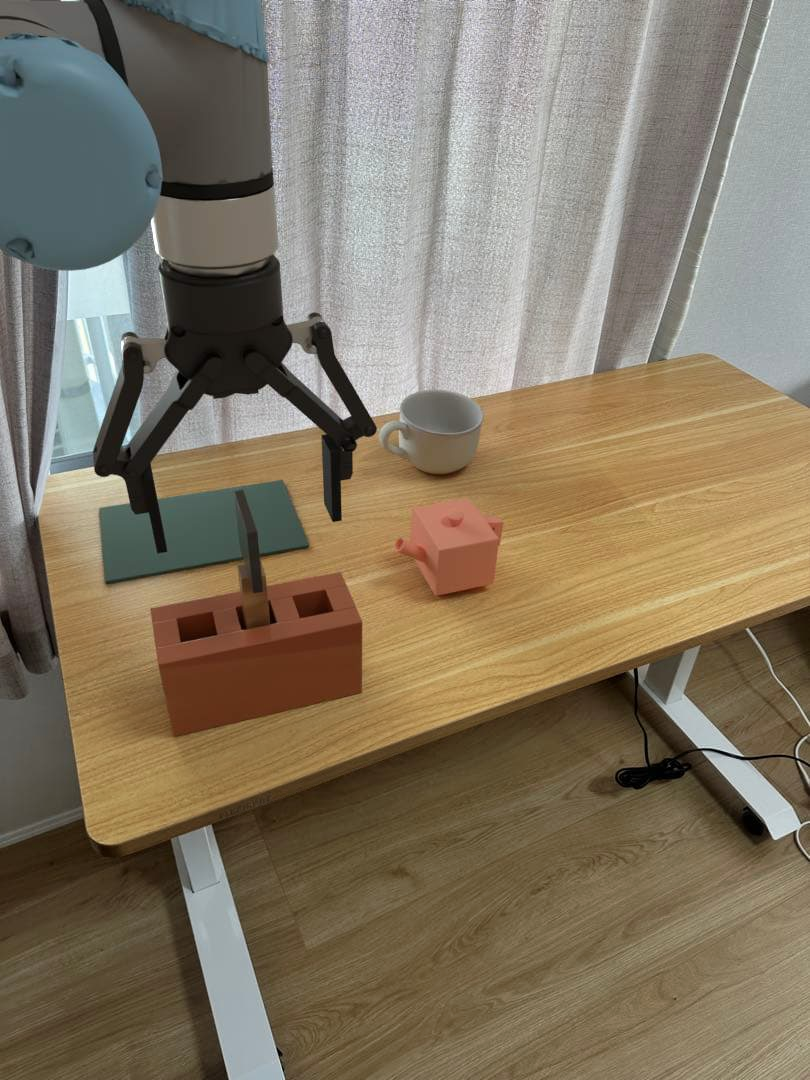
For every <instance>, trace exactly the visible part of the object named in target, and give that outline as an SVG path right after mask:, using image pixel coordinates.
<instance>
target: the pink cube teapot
mask: <svg viewBox="0 0 810 1080" xmlns="http://www.w3.org/2000/svg"><path fill="white" fill-rule="evenodd" d="M504 523H505V522H504V521H503V519H502V517H500V516H499V515H482V513H481V512H480V510H479V509H478V508H477V506H476V505H475V504H474V503H473V500H471V499H470V497H465V498H460V499H459V498H458V499H453V500H447V501H441V502H437V503H430V504H426V505H425V504H424V505H420V506H414V507H412V508H411V519H410V535H409V536H410V537H409V538H410V539H409V540H410V541H409V540H407V539H405V538H402V537H399V538H398V539H397V540H396V541H395V543H394V545H393V550H394V552H396V553H398V554H401V555H403V556H405V557H409V558H412V559H413V560H414V562H415V563H416V565H417V567H418V568H419V571H420V572H421V574H422V576H423V577H424V579H425V582H426V583H427V584H428V586H429V588H430V589H431V592H432V593H433V595H434V596H435V597H439V596H442V595H443V596H444V595H447V594H451V593H455V592H461V591H466V590H470V589H474V588H479V587H483V586H489V585H493V584H494V582H495V574H496V566H497V559H498V551H499V547H500V545H501V540H502V533H503V529H504Z"/></svg>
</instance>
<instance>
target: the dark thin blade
mask: <svg viewBox="0 0 810 1080" xmlns="http://www.w3.org/2000/svg"><path fill="white" fill-rule="evenodd" d="M234 499H235V508H236V517H237V526H238V535H239V543H240V550H241V554H242V557H243V560H242V561H243V563H240V564H237V575H238V583H239V591H240V593H241V602H242V610H243V619H244V627H245V630H246V629H251V628H256V627H261V626H266V625H270V617H269V606H268V595H267V586H268V584H267V575H266V571H265V568H264V565H263V563H262V560H261V556H260V553H259V542H258V532H257V529H256V526H255V523H254V520H253V517H252V514H251V511H250V508H249V505H248V502H247V499H246V496H245V493H244V490H243V489H241V490H234Z"/></svg>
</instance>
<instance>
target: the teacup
mask: <svg viewBox="0 0 810 1080" xmlns="http://www.w3.org/2000/svg"><path fill="white" fill-rule="evenodd" d="M398 410H399V420H391V421H388V422H387V423H385V424H384V425H383V426H382V428H381V429H380V432H379V435H378V440H379V444H380V446H381V447H382V448H383V449H384V450H385V451H387V453H390V454H392V455H394V456H398V458H399V459H401V461H407V462H408V463H410V464H411V465H412V466H414V467H415V469H418V470H420V471H421V472H424V473H426V474H430V475H446V474H451V473H455V472H456V471H459V470H461V469H463V468H465V467H466V466H468V465H469V464H470V463H471V462H472V460H473V459H474V458H475V455H476V453H477V450H478V446H479V443H480V437H481V431H482V430H481V429H482V424H483V422H484V420H485V414H484V411H483V408H482V407H481V406H480V405H479V403H478V402H476V401H475V400H474V399H472V398H471V397H469V396H467V395H465V394H462V393H458V392H455V391H451V390H444V389H426V390H420V391H416V392H414V393H411V394H409V395H406V397H404V398H403V399H402V400H401V402H400V404H399V409H398ZM395 431H398V446H395V445H392V444H391V443H390V441H389V439H390V436H391V435H392V434H393V432H395Z"/></svg>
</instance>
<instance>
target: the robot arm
mask: <svg viewBox="0 0 810 1080" xmlns="http://www.w3.org/2000/svg"><path fill="white" fill-rule="evenodd" d="M261 2H262V1H261V0H0V250H1V251H3V252H4V253H5V254H7V255H8V256H10V257H11V258H14V259H17V260H19V261H21V262H24V263H26V264H29V265H32V266H35V267H37V268H41V269H46V270H52V271H61V272H63V271H64V272H65V271H66V272H73V271H84V270H88V269H89V270H90V269H92V268H97V267H100V266H102V265H105V264H107V263H110V262H112V261H113V260H115V259H117V258H119V257H120V256H122V255H123V254H125V253H126V252H128V250H130V249H131V248H132V247H133V246H134V245H136V243H137V242H138V241H139V240H140V239H141V238H142V236H143V235H144V234H145V232H146V230H147V229H148V228H149V226H150V225H151V229H152V236H153V242H154V249H155V252H156V253H157V255H158V256H159V257H160V258H161V259H162V260H161V262H160V263H159V265H158V273H159V279H160V286H161V293H162V298H163V305H164V311H165V319H166V325H167V326H166V327H167V328H166V330H165V331H166V332H165V334H164V336H163V338H162V337H161V338H160V337H159V338H151V337H150V338H149V337H147V338H143V337H139V335H138V334H137V333H136V332H134V331H126V332H124V333H122V334H121V337H120V351H121V353H120V354H121V367H120V370H119V373H118V376H117V379H116V382H115V384H114V386H113V390H112V393H111V397H110V399H109V402H108V404H107V408H106V411H105V415H104V416H103V420H102V423H101V425H100V429H99V432H98V434H97V437H96V440H95V443H94V447H93V448H92V449H93V450H92V458H93V470H94V473H95V474H96V475H97V476H98V477H101V478H106V477H109V476H111V475H112V476H116V477H117V476H118V477H120V478H122V479H123V480H124V483H125V486H126V487H125V488H126V491H127V492H126V493H127V496H128V501H129V503H130V505H131V510H132V511H133V512H134V513H135V515H137V514H143V513H149V516H150V520H151V525H152V530H153V535H154V540H155V545H156V550H157V554H158V553H163V552H167V546H166V541H165V535H164V530H163V525H162V520H161V514H160V509H159V504H158V499H159V498H158V495H157V494H158V493H157V488H156V483H155V479H154V474H153V468H152V465H151V463H152V462H153V460H154V459H155V457H156V456H157V455H158V453H159V452H160V451H161V449H162V448H163V447H164V445H165V444H166V443H167V441H168V439H169V438H170V437H171V435H172V434H173V432H174V431H175V430H176V429H177V427H178V426H179V424H180V423H181V422H182V420H183V419H184V417H185V416H186V415H187V413H189V411H193V409H194V408H195V407H196V405H197V404H198V403H199V402H200V401H201V399H202V398H203V396H204V395H206V396H209V397H212V398H213V400H217V399H225V398H227V397H230V396H233V395H236V394H237V395H238V394H239V395H257V394H259V393H260V390H262V389H263V388H265V387H266V386H267V385H268V386H269V388H271V389H272V390H273V391H275V393H277V394H278V395H279V396H280V397H282V398H284V399H286V400H287V401H288V402H289V403H290V404H292V405H293V406H294V407H295V408H296V409H297V410H298V411H300V412H301V414H303V415H304V416H305V417H306V418H308V419H309V421H311V422H312V423H313V424H314V425H315V426H317V427H318V428H319V429H320V430H321V431H322V432H324V433H325V434H321V459H322V460H321V461H322V485H323V487H322V488H323V505H324V506H325V509H326V511H327V513H328V516H329V518H330V520H331V522H332V523H336V522H342V519H343V518H342V517H343V516H342V515H343V514H342V482H343V481H348V480H351V479H352V477H353V474H354V468H353V467H354V466H353V465H354V463H353V462H354V461H353V458H354V457H353V455H354V453H353V452H355V451H356V449H357V448H358V444H357V443H358V442H357V440H358V439H361V438H363V437H366V438H371V437H374V435H376V433H377V431H378V428H377V425H376V424H375V423H376V422H375V421H374V420H373V418H372V416H371V415H370V412H368V409H367V407H366V406H365V404H364V403H363V401H362V399H361V397H360V396H359V393H358V392H357V391H356V389H355V387H354V385H353V383H352V382H351V380H350V379H349V377H348V375H347V373H346V372H345V369H344V368H343V367H342V365H341V363H340V361H339V359H338V358H337V356H336V354H335V347H334V342H333V333H332V329H331V328H330V326H329V325H328V323H327V321H325V319H324V317H323V316H322V315H321V314H320V313H319V312H310V313H309V314H308V315H307V316H306V317H305V320H303V321H299V322H293V323H290V324H286V322H285V318H284V305H283V291H282V275H281V263H280V260H279V259H278V258H277V256H275V253H276V252H277V250H278V249H279V243H280V242H279V232H278V231H279V230H278V216H277V203H276V191H275V181H274V168H273V157H272V155H273V154H272V135H271V114H270V113H271V112H270V92H269V90H270V89H269V73H268V72H269V71H268V70H269V69H268V64H269V63H270V59H269V58H270V56H269V53H268V49H267V42H266V32H265V23H264V22H265V21H264V15H263V6H262V4H261ZM293 344H298V345H300V347H301V348H302V350H303V352H305V353H306V354H309V355H311V354H312V355H314V357H315V358H316V359H317V361H318V363H319V365H320V367H321V368H322V370H323V371H324V373H325V374H326V377H327V378H328V379H329V381H330V383H331V385H332V386H333V388H334V389H335V392H336V393H337V394H338V396H339V398H340V400H341V401H342V403H343V405H344V406H345V408H346V409H347V411H348V413H349V414H350V416H348V417H346V418H344V419H343V418H342V417H341V416H340V415H338V414H337V413H336V412H335V411H334V410H333V409H332V408H331V407H329V406H328V405H327V404H326V403H325V402H324V401H323V400H322V399H321V398H320V397H319V396H318V395H316V393H314V392H313V391H312V390H311V389H310V388H309V387H307V385H305V383H304V382H302V381H301V380H300V379H299V378H298V377H297V376H295V375H294V374H293V372H291V371H290V370H289V368H288V367H287V366H286V365H285V364H284V363H283V362H284V359H285V358H286V356H288V353H289V352H290V350H291V348H292V346H293ZM162 359H166V360H167V361H168V363H169V364H171V365H172V367H173V368H174V369H176V371H175V373H174V374H173V375H172V377H171V379H170V381H169V385H168V387H167V388H166V390H165V391H164V392H163V394H162V395H161V397H160V398H159V400H158V401H157V402H156V403H155V405H154V406H153V408H152V410H151V411H150V412H149V413H148V415H147V417H146V418H145V419H144V420H143V422H142V423H141V425H140V426H139V428H138V429H137V430H136V432H135V434H134V435H133V436H132V438H131V439H130V441H129V442H128V443H127V445H126V446H125V448H124V447H123V443H124V441H125V439H126V435H127V433H128V430H129V426H130V424H131V421H132V418H133V415H134V413H135V410H136V407H137V404H138V402H139V399H140V397H141V393H142V390H143V386H144V380H145V375H148V374H151V373H152V372H153V371H155V369H156V366H157V363H158V362H159V361H160V360H162Z"/></svg>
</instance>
